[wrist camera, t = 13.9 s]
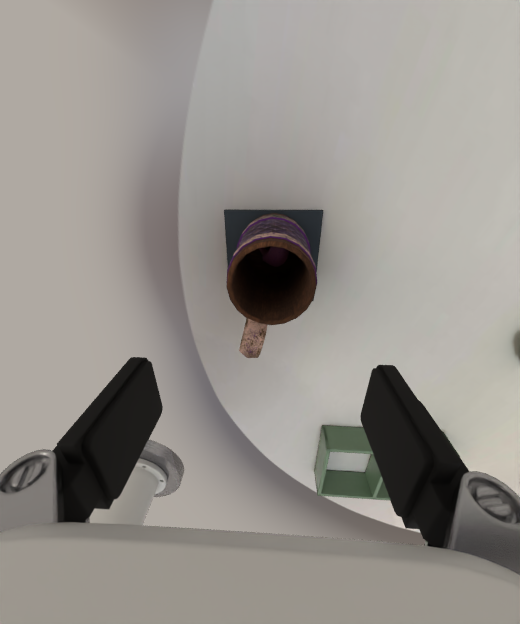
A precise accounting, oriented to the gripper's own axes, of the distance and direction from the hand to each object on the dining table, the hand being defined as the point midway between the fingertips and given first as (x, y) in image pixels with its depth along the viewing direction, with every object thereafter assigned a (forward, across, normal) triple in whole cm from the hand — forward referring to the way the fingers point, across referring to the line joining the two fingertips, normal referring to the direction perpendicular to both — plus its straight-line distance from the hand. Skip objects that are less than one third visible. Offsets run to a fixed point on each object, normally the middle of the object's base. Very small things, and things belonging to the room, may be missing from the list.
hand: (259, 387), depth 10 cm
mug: (+19, 0, -1) cm, 19 cm away
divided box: (+20, -18, +33) cm, 42 cm away
